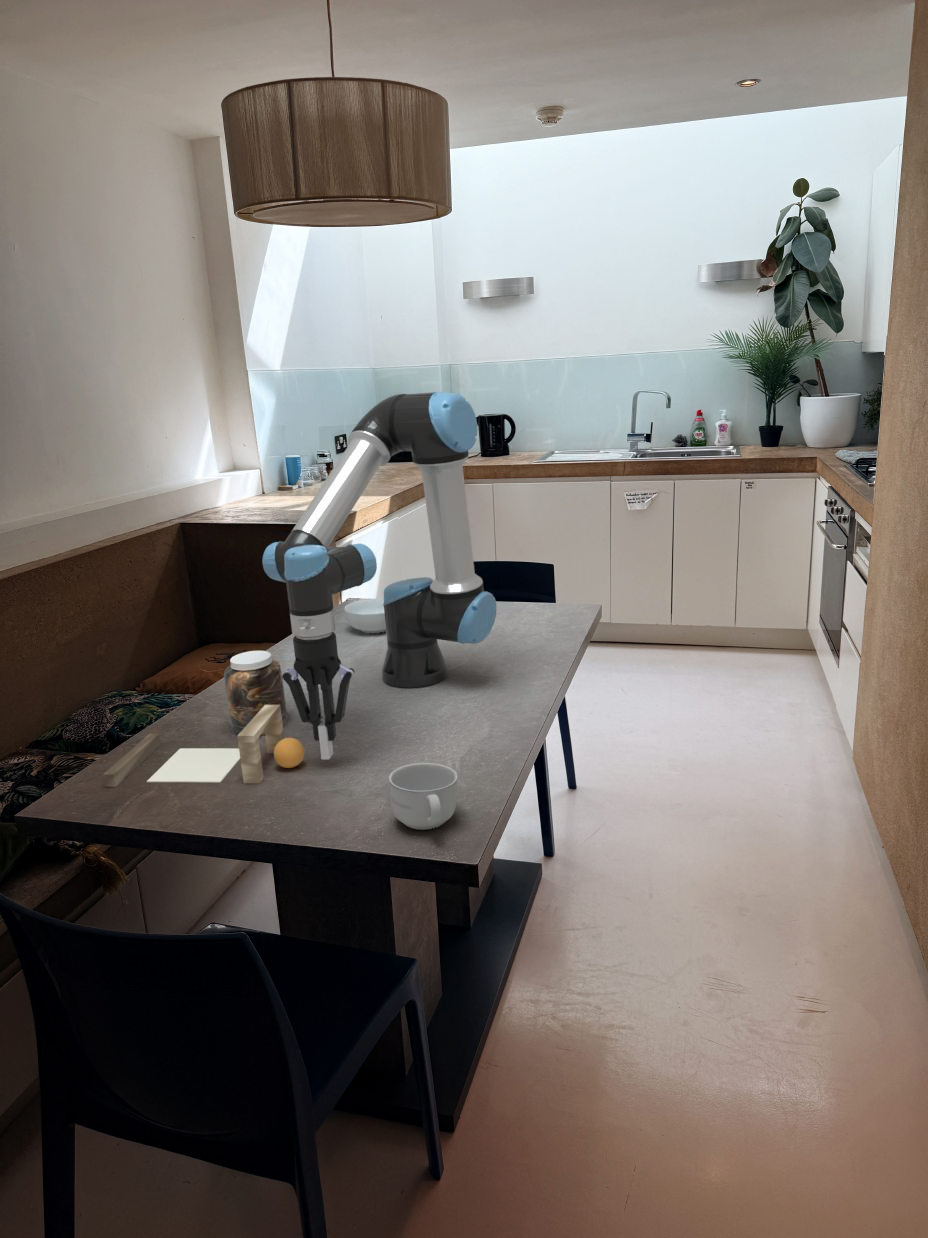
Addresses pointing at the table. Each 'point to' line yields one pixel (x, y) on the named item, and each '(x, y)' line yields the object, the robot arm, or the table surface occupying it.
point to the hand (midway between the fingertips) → (327, 756)
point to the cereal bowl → (366, 615)
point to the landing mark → (198, 765)
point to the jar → (253, 687)
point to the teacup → (423, 794)
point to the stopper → (131, 760)
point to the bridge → (249, 742)
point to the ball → (288, 752)
